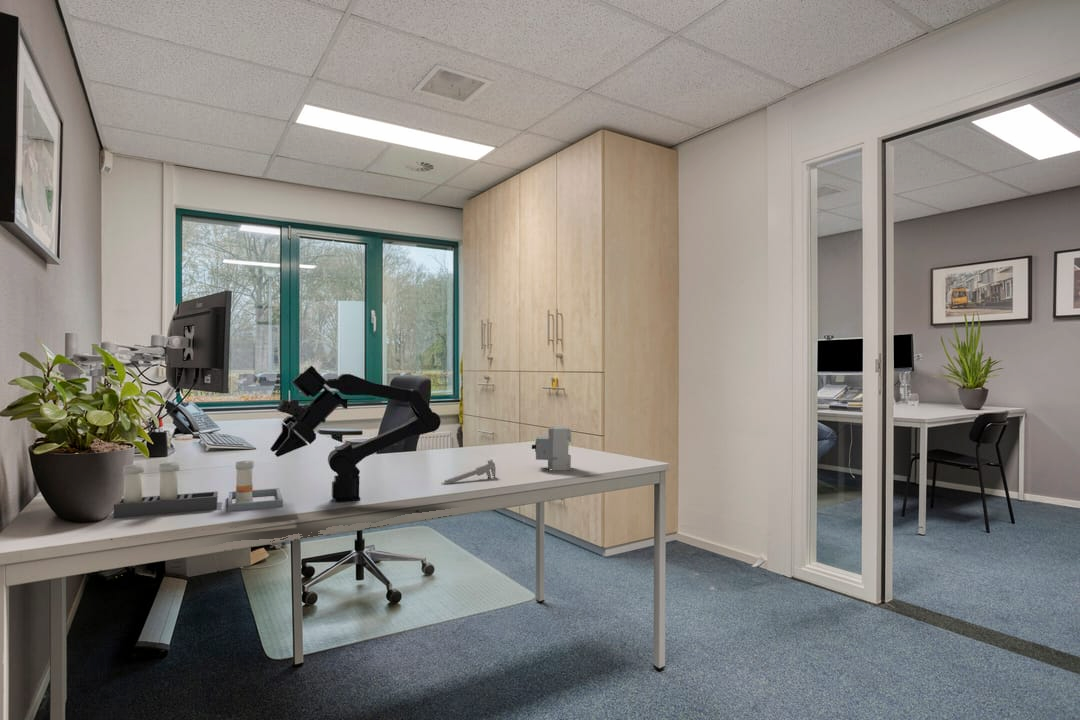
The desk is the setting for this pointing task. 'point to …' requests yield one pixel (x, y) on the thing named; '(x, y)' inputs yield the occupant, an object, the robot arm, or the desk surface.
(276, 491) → the parts tray
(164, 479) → the block
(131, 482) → the fuse
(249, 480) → the marked fuse
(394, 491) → the desk surface
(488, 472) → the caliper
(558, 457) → the circuit breaker
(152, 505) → the grey slotted rack
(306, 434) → the robot arm
